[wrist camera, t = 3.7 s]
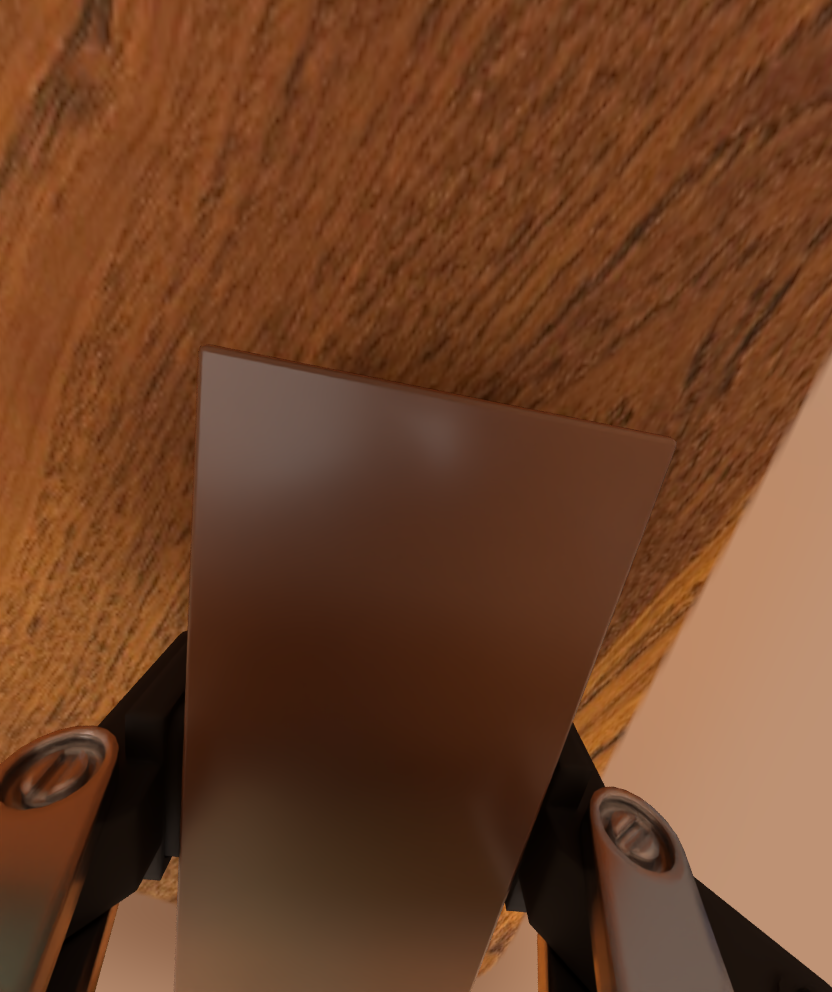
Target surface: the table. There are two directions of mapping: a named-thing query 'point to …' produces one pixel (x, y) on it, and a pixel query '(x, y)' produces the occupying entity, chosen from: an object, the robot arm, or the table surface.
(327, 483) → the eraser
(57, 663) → the table surface
